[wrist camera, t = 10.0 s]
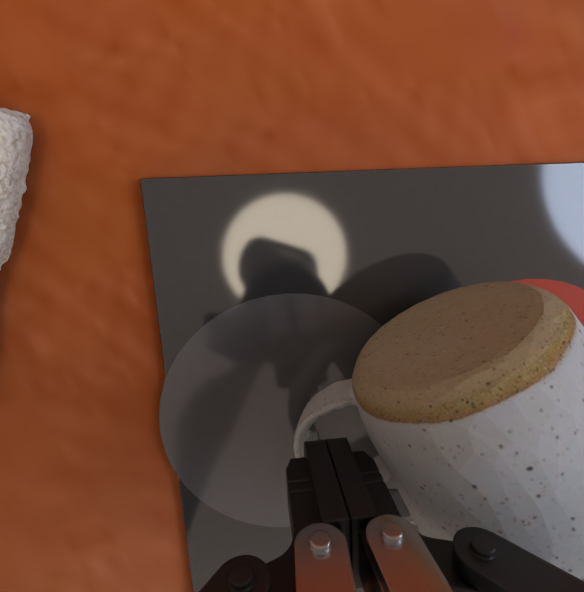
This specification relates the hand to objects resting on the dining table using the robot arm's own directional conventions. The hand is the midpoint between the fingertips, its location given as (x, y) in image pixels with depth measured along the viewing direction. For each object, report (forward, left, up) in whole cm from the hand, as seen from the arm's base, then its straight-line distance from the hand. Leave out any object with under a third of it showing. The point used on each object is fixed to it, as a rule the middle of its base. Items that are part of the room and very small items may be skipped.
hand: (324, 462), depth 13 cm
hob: (+4, 0, -4) cm, 5 cm away
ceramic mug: (+5, 0, -3) cm, 6 cm away
